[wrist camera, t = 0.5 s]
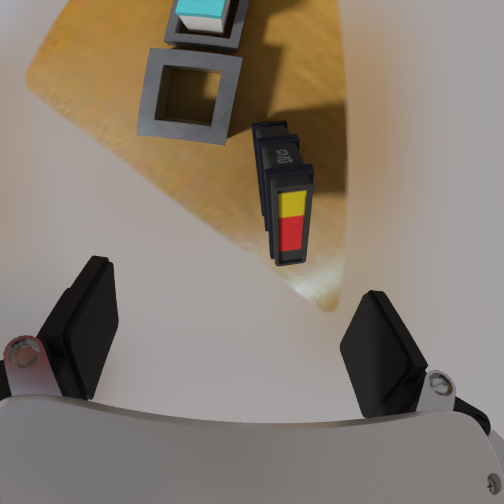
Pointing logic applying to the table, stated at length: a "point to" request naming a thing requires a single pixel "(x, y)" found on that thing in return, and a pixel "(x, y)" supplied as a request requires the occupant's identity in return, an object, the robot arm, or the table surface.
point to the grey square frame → (206, 41)
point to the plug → (204, 15)
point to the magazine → (283, 191)
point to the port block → (158, 87)
